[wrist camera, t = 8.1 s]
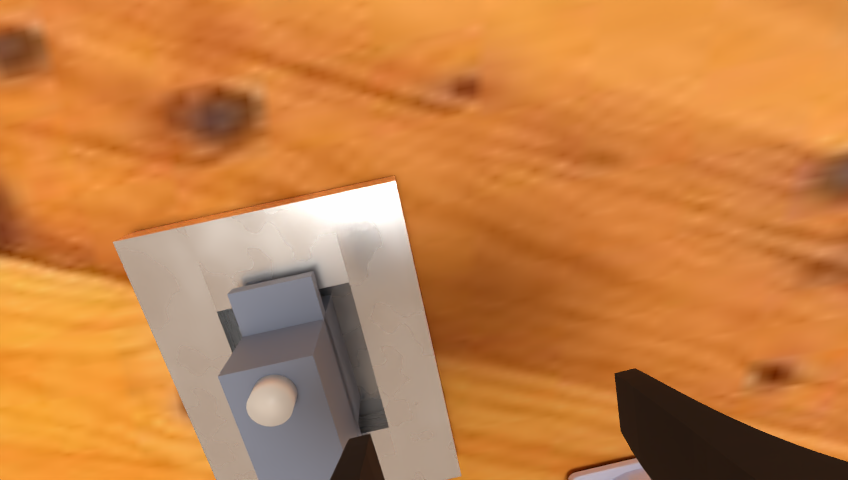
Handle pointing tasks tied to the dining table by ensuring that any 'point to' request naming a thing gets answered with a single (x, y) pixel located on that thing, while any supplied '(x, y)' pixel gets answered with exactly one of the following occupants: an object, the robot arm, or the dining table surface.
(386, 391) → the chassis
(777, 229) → the dining table surface
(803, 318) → the dining table surface
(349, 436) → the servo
